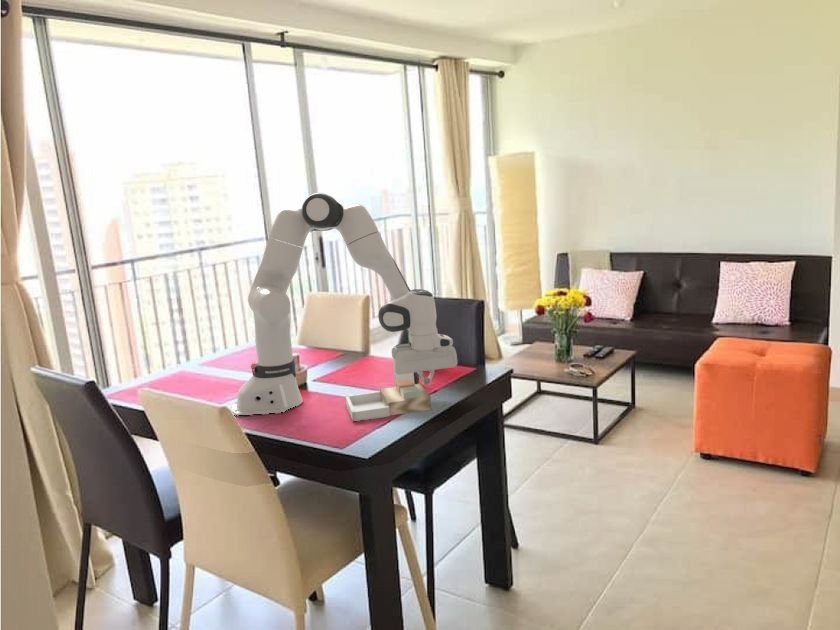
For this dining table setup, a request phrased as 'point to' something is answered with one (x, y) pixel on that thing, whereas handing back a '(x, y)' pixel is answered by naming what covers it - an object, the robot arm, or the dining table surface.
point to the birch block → (405, 401)
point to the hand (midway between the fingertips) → (426, 383)
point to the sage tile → (410, 392)
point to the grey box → (366, 406)
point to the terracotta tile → (404, 384)
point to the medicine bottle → (406, 377)
